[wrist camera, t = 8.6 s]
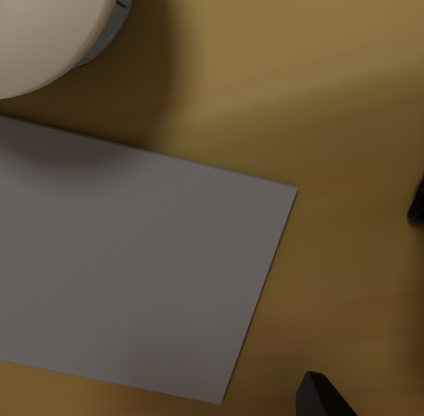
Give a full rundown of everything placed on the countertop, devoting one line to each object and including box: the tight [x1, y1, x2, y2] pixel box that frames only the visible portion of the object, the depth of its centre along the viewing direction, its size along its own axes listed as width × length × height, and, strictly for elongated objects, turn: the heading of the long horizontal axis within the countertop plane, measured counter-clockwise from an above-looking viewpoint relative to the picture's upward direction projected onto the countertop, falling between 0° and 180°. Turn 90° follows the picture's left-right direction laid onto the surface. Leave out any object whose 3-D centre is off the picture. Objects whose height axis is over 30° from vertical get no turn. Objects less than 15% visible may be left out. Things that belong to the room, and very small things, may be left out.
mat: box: [0, 114, 297, 405], centre depth 22 cm, size 18×18×1 cm
